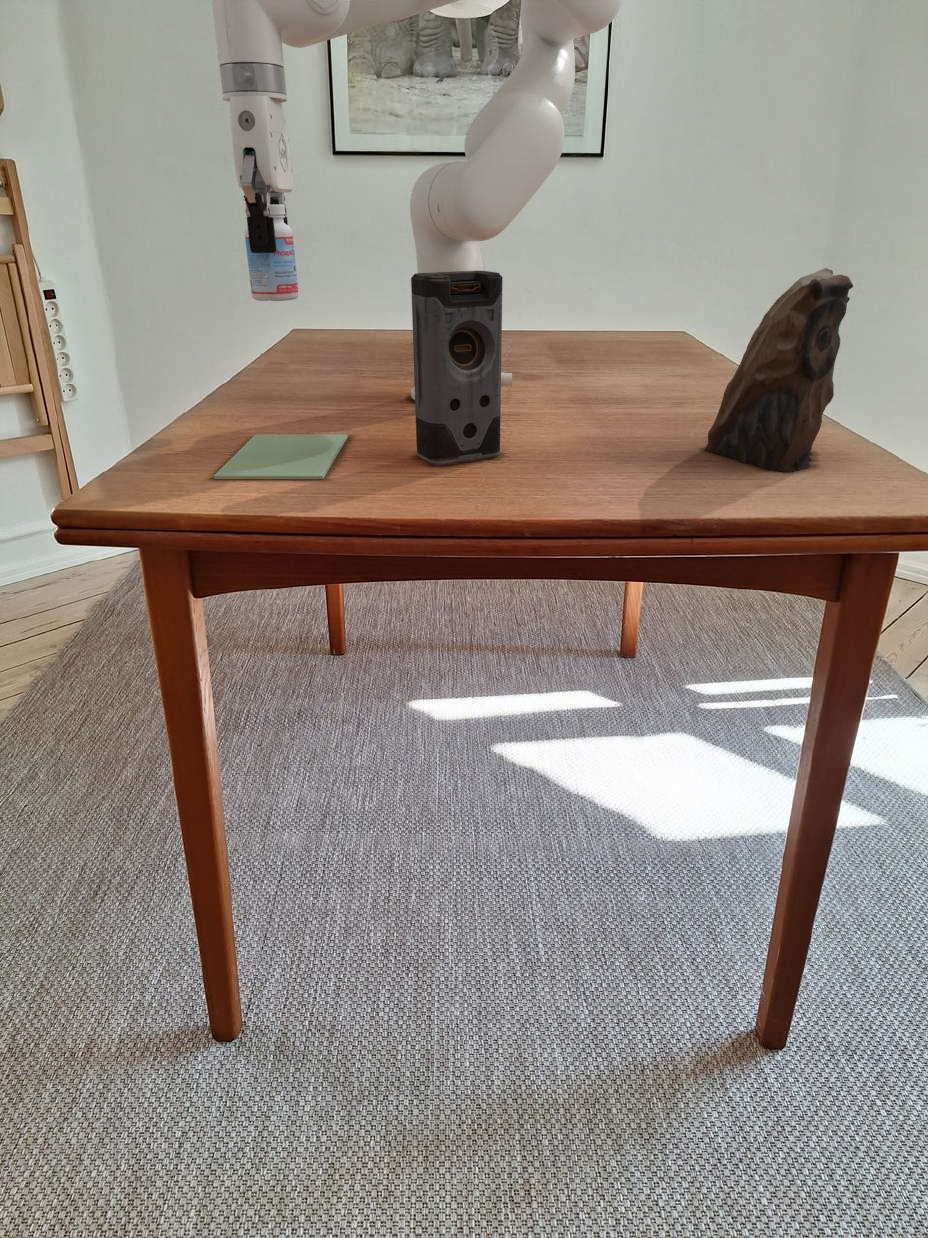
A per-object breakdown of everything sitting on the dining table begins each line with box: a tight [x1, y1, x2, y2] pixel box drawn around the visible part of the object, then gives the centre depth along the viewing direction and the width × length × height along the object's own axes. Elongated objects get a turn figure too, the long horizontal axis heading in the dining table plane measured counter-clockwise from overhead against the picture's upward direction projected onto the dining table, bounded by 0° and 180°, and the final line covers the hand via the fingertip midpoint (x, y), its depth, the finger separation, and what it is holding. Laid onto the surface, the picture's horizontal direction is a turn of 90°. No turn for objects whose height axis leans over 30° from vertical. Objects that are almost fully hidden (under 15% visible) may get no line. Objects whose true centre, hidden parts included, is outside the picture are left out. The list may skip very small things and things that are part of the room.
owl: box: [704, 267, 854, 473], centre depth 90 cm, size 13×13×20 cm
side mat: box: [213, 433, 349, 480], centre depth 96 cm, size 12×18×1 cm, turn 179°
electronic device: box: [410, 270, 503, 467], centre depth 91 cm, size 9×6×20 cm, turn 117°
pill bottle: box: [244, 205, 299, 302], centre depth 105 cm, size 6×6×11 cm
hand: (270, 249), depth 105 cm, fingers closed on pill bottle, 6 cm apart
